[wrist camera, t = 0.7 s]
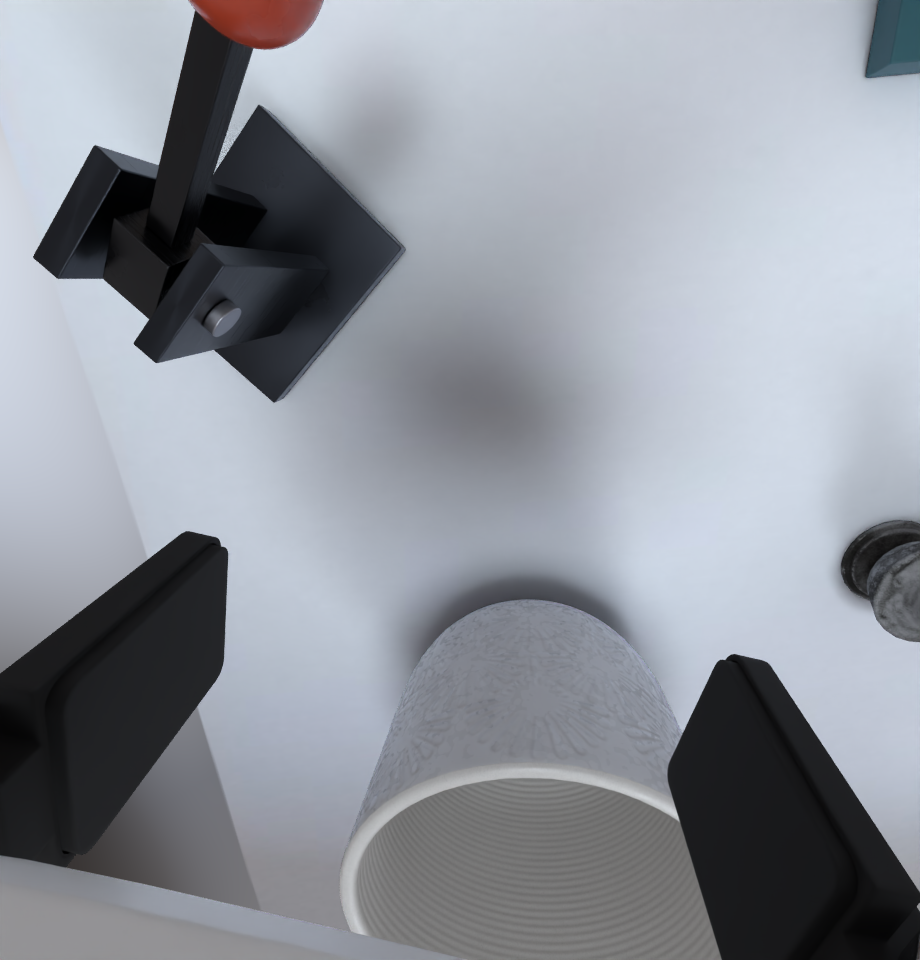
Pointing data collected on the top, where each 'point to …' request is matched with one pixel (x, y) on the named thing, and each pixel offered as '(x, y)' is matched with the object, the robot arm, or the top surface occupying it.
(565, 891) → the planter
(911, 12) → the block
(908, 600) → the stone chess piece
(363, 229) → the lever base
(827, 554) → the top surface
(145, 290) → the lever
